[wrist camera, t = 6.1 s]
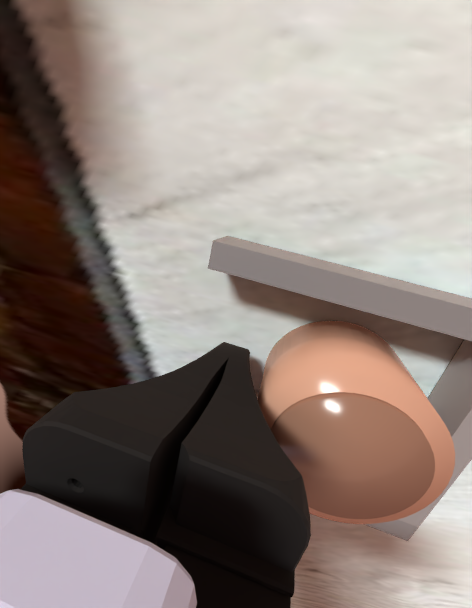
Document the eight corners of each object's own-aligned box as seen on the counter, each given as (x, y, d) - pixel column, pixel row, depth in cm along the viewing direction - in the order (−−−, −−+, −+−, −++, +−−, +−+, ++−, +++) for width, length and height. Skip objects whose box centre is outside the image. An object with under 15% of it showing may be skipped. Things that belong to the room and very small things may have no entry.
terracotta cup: (355, 453, 13) (381, 557, 9) (245, 399, 13) (223, 476, 9) (435, 359, 11) (515, 443, 7) (298, 297, 11) (298, 344, 7)
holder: (392, 495, 13) (407, 540, 11) (189, 422, 15) (174, 452, 13) (516, 310, 9) (569, 334, 8) (227, 235, 11) (213, 240, 9)
